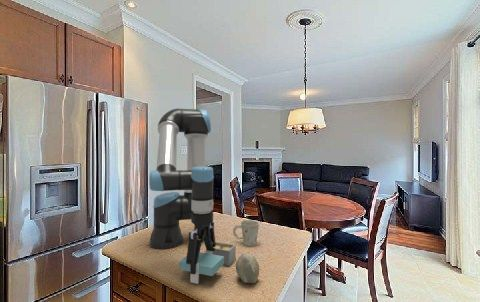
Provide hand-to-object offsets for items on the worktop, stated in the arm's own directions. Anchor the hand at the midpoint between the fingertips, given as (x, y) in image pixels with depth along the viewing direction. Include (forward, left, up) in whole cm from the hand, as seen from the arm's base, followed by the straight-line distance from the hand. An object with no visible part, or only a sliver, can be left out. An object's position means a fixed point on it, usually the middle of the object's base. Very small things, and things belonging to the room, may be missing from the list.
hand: (201, 275), depth 85 cm
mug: (+4, +34, -1) cm, 35 cm away
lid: (0, 0, +3) cm, 3 cm away
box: (+1, +14, -1) cm, 14 cm away
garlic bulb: (+15, +4, -1) cm, 16 cm away
